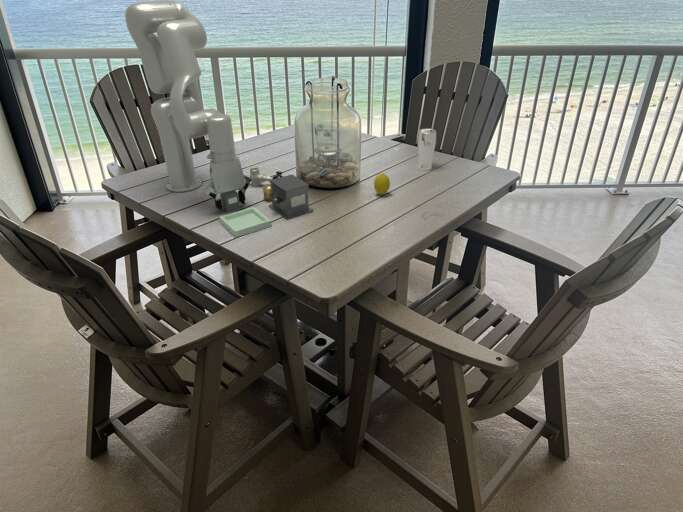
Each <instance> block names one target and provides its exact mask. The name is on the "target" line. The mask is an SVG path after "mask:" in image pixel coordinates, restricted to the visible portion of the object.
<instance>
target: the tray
mask: <svg viewBox="0 0 683 512" xmlns="http://www.w3.org/2000/svg"><path fill="white" fill-rule="evenodd" d="M218 218H219V222H220V224H221V225H222V226H223V227H224V228H225V229H227V230H228V231H229V232H230V233H231V235H233V237H235V238H239V237H242V236H244V235H248V234H251V233H254V232H258V231H261V230H264V229H267V228H271V227H272V226H273V225H272V220H271V219H270V218H268V216H266V215H265V214H263V213H262V212H261V211H260V210H259V209H257V208H256V207H254V206H253V207H248V208H245V209H242V210H238V211H234V212H231V213H227V214H225V215H220V216H219V217H218Z"/></svg>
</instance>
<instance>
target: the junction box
mask: <svg viewBox="0 0 683 512" xmlns="http://www.w3.org/2000/svg"><path fill="white" fill-rule="evenodd" d="M268 182H269V184H271V190H272V200H271V201H272V202H271V204H268V207H269V208H270V209H271V210H273V211H275V212H276V213H277V214H278V215H280V216H281V217H282V218H283V219H285V220H291V219H293V218H297V217H301V216H303V215H307V214H310V213H314V209H312V208H311V207H309V206H310V205H309V187H310V185H309V183H307V182H306V181H304V180H302V179H300V178H299V177H297V176H295V175H293V174H288V175H285V176H283V177H278V178H276V179H272V180H269V181H268Z"/></svg>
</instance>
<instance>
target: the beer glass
mask: <svg viewBox="0 0 683 512" xmlns="http://www.w3.org/2000/svg"><path fill="white" fill-rule="evenodd" d="M436 145H437V130H436V129H432V128H421V129H419V131H418V137H417V155H418V158H417V159H418V161H417V165H416V169H418V170H420V171H430V170H432V168H433V165H432V164H433V163H432V162H433V161H432V159H433V155H434V152H435V149H436V148H435V147H436Z"/></svg>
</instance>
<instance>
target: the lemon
mask: <svg viewBox="0 0 683 512" xmlns="http://www.w3.org/2000/svg"><path fill="white" fill-rule="evenodd" d="M373 182H374V183H373V189H374V191H375V192H376V193H378V194H379V195H382V196H383V195H384V194H386V193H387V192H388V191H389V190H390V187H391V182H390V178H389V176H388V175H387V174H385V173H384V172H383V173H380V174H378V175H376V177H375V179H374V181H373Z"/></svg>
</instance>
